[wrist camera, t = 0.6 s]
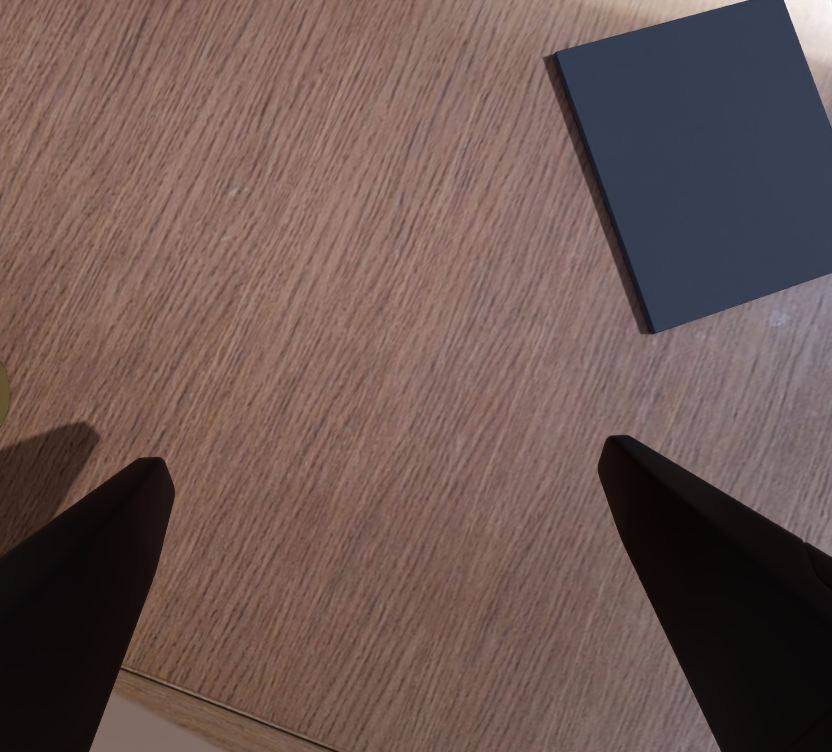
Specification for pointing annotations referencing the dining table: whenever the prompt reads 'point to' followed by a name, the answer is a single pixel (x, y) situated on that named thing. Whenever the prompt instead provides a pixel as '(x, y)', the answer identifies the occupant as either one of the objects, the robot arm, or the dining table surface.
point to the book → (707, 157)
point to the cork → (4, 393)
